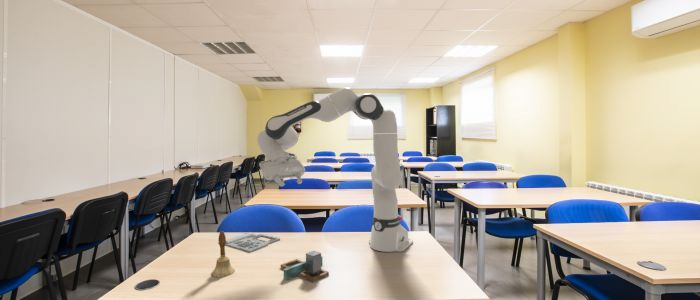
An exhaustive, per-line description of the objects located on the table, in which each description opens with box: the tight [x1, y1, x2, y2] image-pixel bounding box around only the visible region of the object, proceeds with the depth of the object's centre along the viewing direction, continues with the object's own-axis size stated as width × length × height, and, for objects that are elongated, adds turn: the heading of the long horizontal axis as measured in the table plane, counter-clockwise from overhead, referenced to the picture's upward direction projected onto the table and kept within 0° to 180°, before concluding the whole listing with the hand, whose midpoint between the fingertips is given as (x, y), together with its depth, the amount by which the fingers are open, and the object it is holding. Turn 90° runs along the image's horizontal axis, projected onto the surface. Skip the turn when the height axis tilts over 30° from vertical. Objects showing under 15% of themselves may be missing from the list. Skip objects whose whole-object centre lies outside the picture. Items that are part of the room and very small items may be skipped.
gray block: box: [305, 250, 322, 277], centre depth 120 cm, size 4×4×8 cm
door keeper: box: [280, 255, 330, 283], centre depth 124 cm, size 18×19×4 cm
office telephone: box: [225, 231, 281, 253], centre depth 159 cm, size 23×3×20 cm
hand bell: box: [211, 230, 236, 278], centre depth 123 cm, size 8×8×16 cm
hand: (291, 184), depth 138 cm, fingers open, 8 cm apart
